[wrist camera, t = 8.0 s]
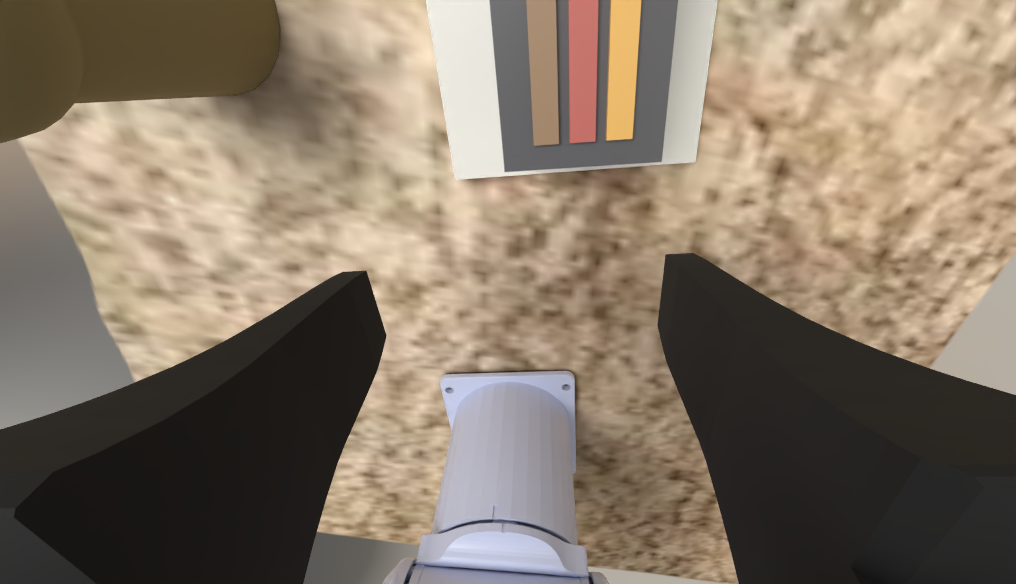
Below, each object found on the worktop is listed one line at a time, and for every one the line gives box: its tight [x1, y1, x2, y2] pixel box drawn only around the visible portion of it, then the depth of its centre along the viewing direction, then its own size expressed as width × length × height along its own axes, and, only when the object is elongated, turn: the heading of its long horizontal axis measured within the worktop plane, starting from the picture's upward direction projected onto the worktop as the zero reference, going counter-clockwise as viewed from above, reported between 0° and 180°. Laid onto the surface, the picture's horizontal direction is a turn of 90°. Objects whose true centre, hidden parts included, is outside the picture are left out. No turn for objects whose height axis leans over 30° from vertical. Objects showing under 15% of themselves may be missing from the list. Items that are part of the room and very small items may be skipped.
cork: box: [0, 0, 280, 143], centre depth 12 cm, size 6×6×11 cm
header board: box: [426, 0, 718, 180], centre depth 15 cm, size 12×10×4 cm
